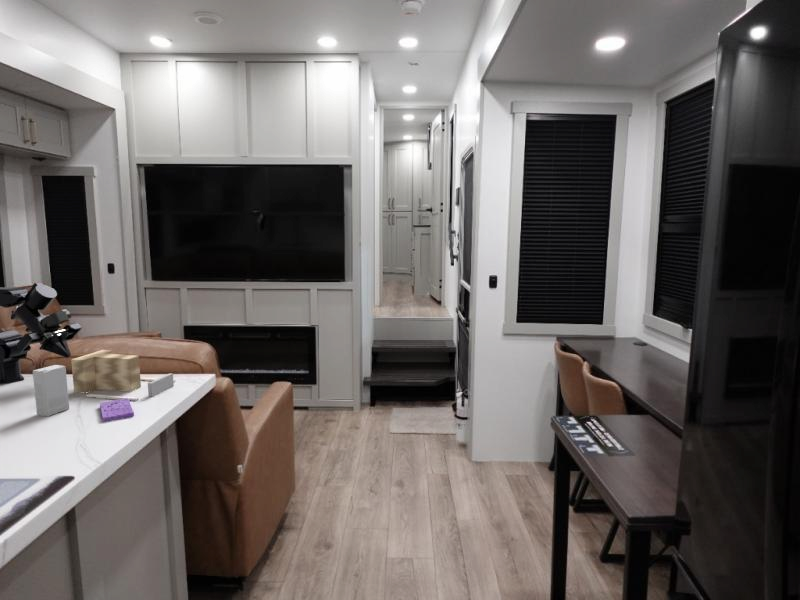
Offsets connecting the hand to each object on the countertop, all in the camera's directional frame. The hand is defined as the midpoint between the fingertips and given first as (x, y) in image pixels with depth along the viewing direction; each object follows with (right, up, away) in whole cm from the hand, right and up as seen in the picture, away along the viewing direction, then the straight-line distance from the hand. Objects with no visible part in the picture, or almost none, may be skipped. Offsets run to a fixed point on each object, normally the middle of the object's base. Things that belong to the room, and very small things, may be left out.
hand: (69, 356), depth 150 cm
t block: (+14, -9, -1) cm, 17 cm away
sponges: (+27, -13, -20) cm, 36 cm away
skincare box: (+10, -12, -21) cm, 27 cm away
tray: (+22, -10, -3) cm, 24 cm away
